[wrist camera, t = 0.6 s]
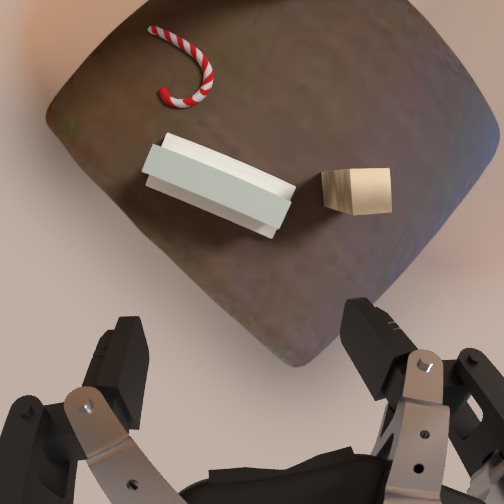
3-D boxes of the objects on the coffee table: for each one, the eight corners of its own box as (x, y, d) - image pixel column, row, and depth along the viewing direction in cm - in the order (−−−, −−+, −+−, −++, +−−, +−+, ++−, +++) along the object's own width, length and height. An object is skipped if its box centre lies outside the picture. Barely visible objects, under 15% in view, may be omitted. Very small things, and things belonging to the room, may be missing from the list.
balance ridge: (170, 134, 34) (152, 122, 26) (293, 186, 36) (308, 188, 28) (148, 185, 35) (126, 186, 27) (270, 236, 37) (279, 251, 30)
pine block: (320, 171, 36) (349, 169, 26) (352, 170, 36) (389, 168, 26) (323, 206, 37) (352, 215, 27) (355, 203, 37) (391, 212, 27)
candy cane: (168, 12, 28) (227, 82, 32) (170, 17, 30) (227, 86, 33) (121, 43, 29) (174, 117, 32) (124, 47, 30) (176, 119, 34)
